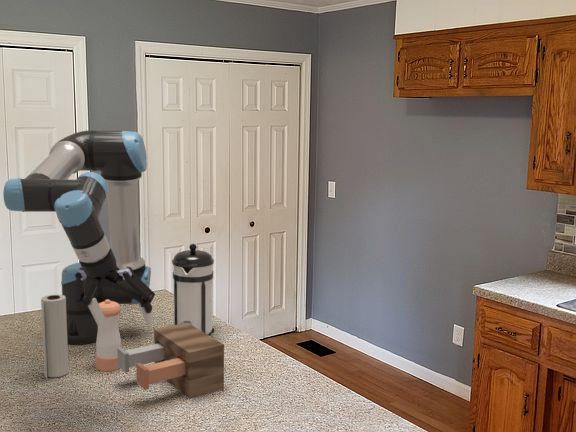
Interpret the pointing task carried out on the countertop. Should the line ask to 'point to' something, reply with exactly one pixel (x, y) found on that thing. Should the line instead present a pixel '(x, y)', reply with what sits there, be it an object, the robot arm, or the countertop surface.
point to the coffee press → (193, 288)
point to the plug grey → (140, 356)
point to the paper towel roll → (54, 335)
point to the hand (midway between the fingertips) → (125, 321)
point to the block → (193, 358)
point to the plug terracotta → (159, 371)
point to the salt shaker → (108, 337)
